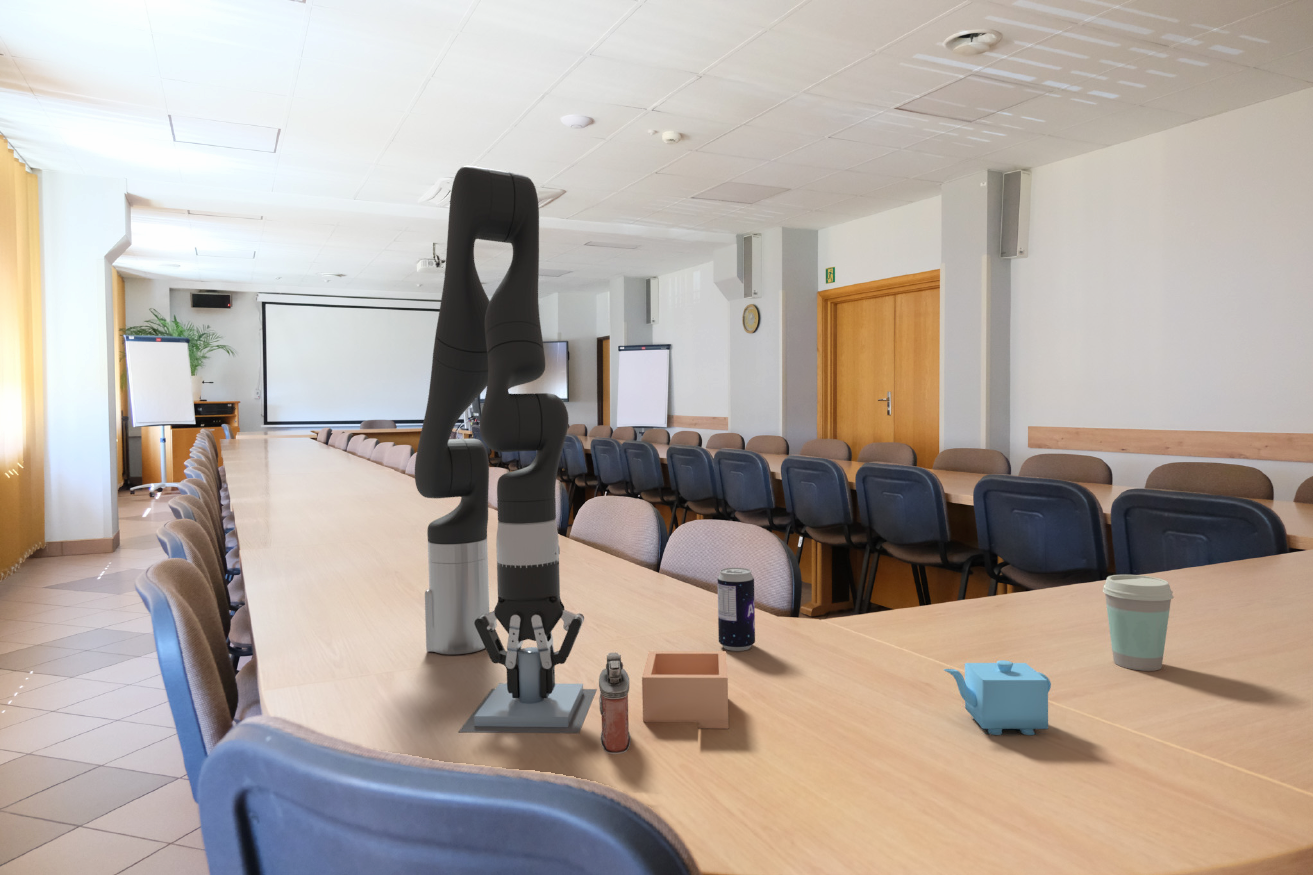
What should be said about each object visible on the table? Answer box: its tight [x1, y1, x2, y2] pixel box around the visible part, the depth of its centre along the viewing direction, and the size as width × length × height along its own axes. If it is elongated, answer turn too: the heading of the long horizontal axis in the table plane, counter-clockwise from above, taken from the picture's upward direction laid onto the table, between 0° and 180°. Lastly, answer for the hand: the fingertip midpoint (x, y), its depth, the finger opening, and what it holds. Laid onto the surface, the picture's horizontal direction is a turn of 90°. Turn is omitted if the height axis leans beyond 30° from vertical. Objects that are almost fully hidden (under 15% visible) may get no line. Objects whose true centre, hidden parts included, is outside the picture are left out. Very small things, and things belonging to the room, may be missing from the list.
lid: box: [474, 646, 584, 727], centre depth 97 cm, size 11×11×7 cm
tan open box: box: [641, 650, 729, 730], centre depth 97 cm, size 10×10×6 cm
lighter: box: [598, 651, 632, 755], centre depth 88 cm, size 8×3×10 cm, turn 5°
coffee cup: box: [1102, 574, 1175, 672], centre depth 111 cm, size 9×8×12 cm
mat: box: [458, 688, 597, 734], centre depth 97 cm, size 14×14×1 cm
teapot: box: [943, 660, 1052, 736], centre depth 91 cm, size 12×6×8 cm, turn 86°
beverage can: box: [717, 567, 756, 652], centre depth 123 cm, size 6×6×12 cm
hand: (531, 695), depth 97 cm, fingers closed on lid, 3 cm apart
